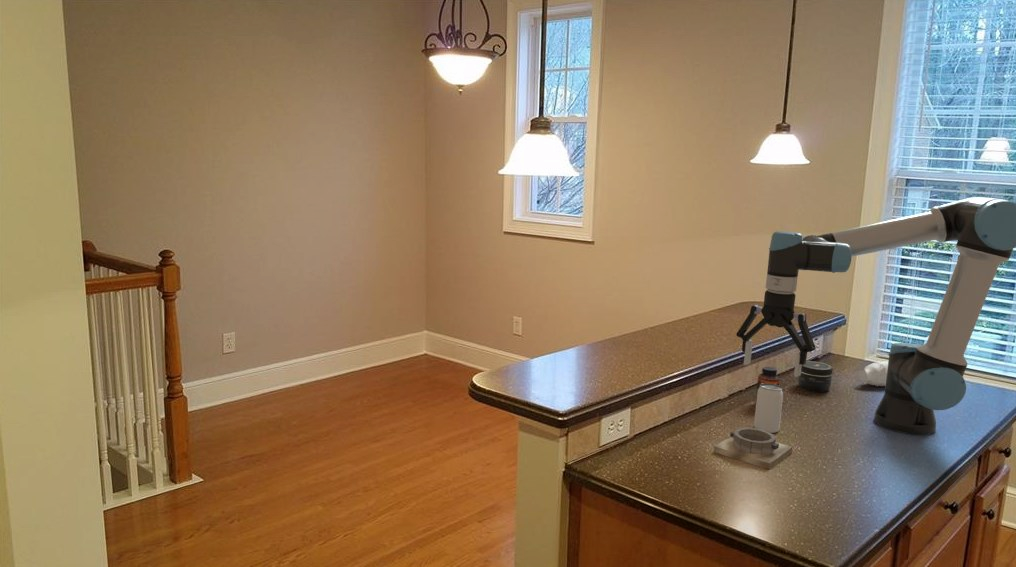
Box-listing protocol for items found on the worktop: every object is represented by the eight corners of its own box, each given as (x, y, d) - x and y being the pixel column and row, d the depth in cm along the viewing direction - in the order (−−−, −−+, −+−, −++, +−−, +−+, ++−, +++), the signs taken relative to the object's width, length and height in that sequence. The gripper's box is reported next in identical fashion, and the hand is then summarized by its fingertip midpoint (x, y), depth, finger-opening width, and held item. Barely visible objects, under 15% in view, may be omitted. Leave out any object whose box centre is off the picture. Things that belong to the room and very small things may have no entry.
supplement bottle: (778, 409, 214) (782, 372, 212) (756, 407, 215) (760, 370, 213) (775, 402, 220) (778, 366, 218) (754, 401, 221) (757, 364, 219)
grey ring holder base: (791, 452, 183) (793, 435, 182) (769, 469, 173) (771, 451, 172) (738, 436, 192) (739, 420, 191) (713, 452, 182) (715, 434, 181)
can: (749, 424, 201) (754, 382, 199) (772, 424, 202) (777, 382, 199) (759, 433, 195) (764, 390, 193) (783, 433, 195) (788, 390, 193)
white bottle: (850, 384, 242) (853, 360, 240) (894, 379, 248) (897, 356, 247) (870, 391, 234) (873, 367, 233) (914, 386, 241) (917, 363, 239)
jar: (831, 386, 238) (833, 363, 237) (830, 395, 229) (832, 371, 228) (797, 381, 242) (800, 358, 241) (795, 389, 233) (798, 366, 232)
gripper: (728, 285, 197) (721, 362, 201) (824, 301, 181) (814, 384, 184) (740, 282, 202) (733, 357, 206) (834, 297, 186) (824, 378, 190)
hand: (771, 370), depth 195 cm, fingers open, 13 cm apart
